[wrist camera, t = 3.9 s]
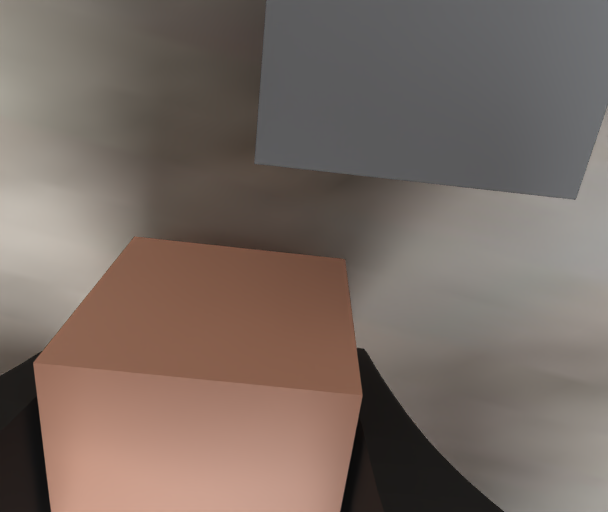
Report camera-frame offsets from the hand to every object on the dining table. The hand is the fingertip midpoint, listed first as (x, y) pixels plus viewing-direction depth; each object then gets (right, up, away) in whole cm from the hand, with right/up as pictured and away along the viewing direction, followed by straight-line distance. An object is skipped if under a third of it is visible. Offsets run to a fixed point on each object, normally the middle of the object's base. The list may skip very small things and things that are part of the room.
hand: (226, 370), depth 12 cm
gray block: (+4, +8, -1) cm, 9 cm away
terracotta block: (0, +1, +1) cm, 1 cm away
